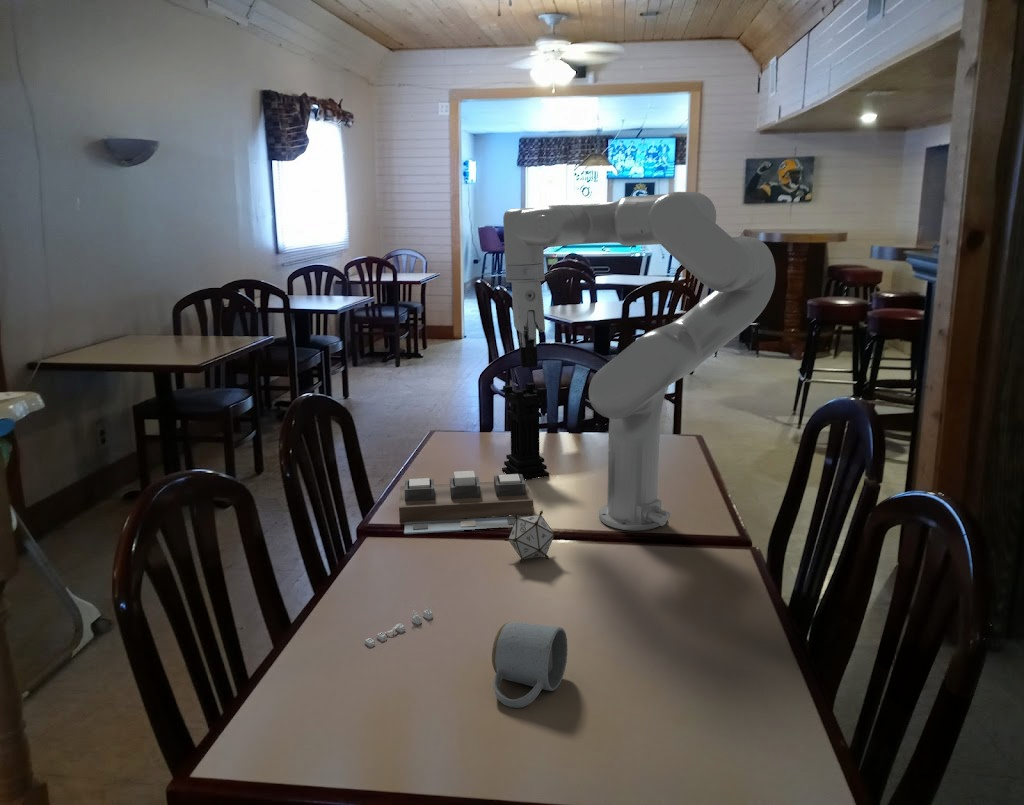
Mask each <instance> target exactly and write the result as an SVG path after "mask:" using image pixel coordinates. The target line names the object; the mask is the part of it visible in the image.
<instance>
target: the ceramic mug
mask: <svg viewBox="0 0 1024 805" xmlns="http://www.w3.org/2000/svg"><path fill="white" fill-rule="evenodd" d="M568 647H569V646H568V638H567V633H566V631H565V629H564V628H563V627H561V626H554V625H544V624H535V623H527V622H521V621H520V622H518V621H513V622H506V623H505V624H502V626H500V628H499V629H498V630H497V632H496V635H495V637H494V640H493V644H492V650H491V665H492V668H493V671H494V672H495V675H494V679H493V690H494V694H495V696H496V698H497V699H498V701H499V703H502V705H504V706H506V707H507V708H512V707H513V708H514V709H519V708H524V707H526V706H528V705H530V704H532V703H533V702H534V701H535V700H536V698H537V697H538V696H539V694H540V693H541V691H542V690H545V691H549V692H553V691H554V692H555V690H557V688H558V687H559V686H560V684H561V682H562V680H563V678H564V675H565V672H566V666H567V662H568V661H567V660H568V651H569V650H568ZM502 679H504V680H506V681H510V682H514V683H517V684H523V685H525V686H528V687H529V686H530V687H533V688H532V689H530V691H529V692H528V693H526V694H525V695H523V696H521V697H518V698H514V699H511V698H508V696H506V695H505V694H502V693H501V691H500V684H501V682H502Z"/></svg>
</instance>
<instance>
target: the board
mask: <svg viewBox="0 0 1024 805" xmlns="http://www.w3.org/2000/svg"><path fill="white" fill-rule="evenodd" d="M499 475H500V474H499ZM499 475H493V481H483V482H481V481H480V478H479V476H475V485H472V486H455V483H454V477H449V483H441V484H439V483H438V484H435V479H434V478H429V480H430V488H412V489H409V479H405V480H404V485H402V486H400V491H399V505H398V516H399V523H404V530H403V534H404V535H413V534H414V535H415V534H430V533H431V534H432V533H451V532H465V531H464V530H472V531H476V530H475V529H487V528H499V527H501V528H503V527H513V525H514V523H515V520H516V518H515V517H514V516H509V515H514V514H515V515H523V516H517V517H525V516H529V515H528V514H533V515H534V499H533V496H532V494H531V491H530V488H529V486H528V483H527V480H524V478H523V476H522V474H518V475H519V478H520V483H512V484H499ZM492 516H504V517H492ZM479 517H486V518H479ZM464 518H467V519H464Z"/></svg>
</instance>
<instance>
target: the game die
mask: <svg viewBox="0 0 1024 805" xmlns="http://www.w3.org/2000/svg"><path fill="white" fill-rule="evenodd" d="M542 515H543V509H541V511H539V514H533V515H524V516H525V517H517V515H515V514H514V516H513V517H515V518H516V520H515V523H514V525H513V528H511V529H510V530H511V531H510V532H509V536H508V537H505V538H504V539H503V541H505V542H509V543H510V545H511V546H512V547H513V549H514V550H515V552H516V553H517V555H518V556H519V558H520V560H519V564H520V565H521V564H522V563H523V561H524V560H528V559H535V558H539V557H545V559H547V560H550V557H549V555H548V551H549V549H550V546H551V545H552V543H553V540H554V538H555V536H559V535H560V533H559V532H557V531H556V532H554V531H553V529H552V527H551V526H549V524H548V522H547V521H546V520H545V518H544V516H542Z"/></svg>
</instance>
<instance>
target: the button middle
mask: <svg viewBox="0 0 1024 805" xmlns="http://www.w3.org/2000/svg"><path fill="white" fill-rule="evenodd" d="M475 477H476V476H475V471H474V470H462V471H453V478H454V483H455V486H472V485H475Z"/></svg>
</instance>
